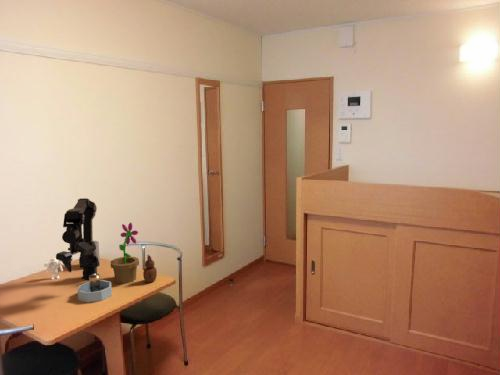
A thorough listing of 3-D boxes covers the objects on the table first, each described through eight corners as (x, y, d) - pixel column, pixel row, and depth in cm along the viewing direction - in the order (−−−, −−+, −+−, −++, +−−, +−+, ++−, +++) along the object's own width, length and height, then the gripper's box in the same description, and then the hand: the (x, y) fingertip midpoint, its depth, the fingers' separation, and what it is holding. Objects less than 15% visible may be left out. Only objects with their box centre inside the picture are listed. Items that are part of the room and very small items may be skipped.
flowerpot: (145, 277, 210) (143, 222, 205) (125, 287, 197) (123, 228, 193) (125, 273, 216) (123, 219, 212) (105, 282, 204) (101, 225, 199)
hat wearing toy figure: (64, 275, 213) (62, 254, 211) (64, 277, 209) (63, 256, 207) (45, 278, 208) (43, 256, 207) (45, 281, 205) (43, 258, 203)
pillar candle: (78, 268, 224) (76, 242, 221) (87, 262, 233) (86, 237, 231) (94, 269, 222) (92, 243, 220) (103, 263, 231) (102, 238, 229)
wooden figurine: (149, 284, 200) (148, 256, 198) (141, 282, 203) (140, 254, 201) (159, 280, 206) (158, 252, 204) (151, 278, 209) (150, 250, 207)
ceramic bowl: (96, 287, 197) (95, 278, 197) (118, 292, 191) (117, 283, 190) (71, 298, 184) (71, 289, 184) (94, 304, 178) (93, 294, 177)
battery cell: (95, 290, 191) (94, 271, 189) (102, 292, 189) (101, 273, 187) (88, 294, 187) (86, 274, 185) (95, 295, 185) (93, 276, 183)
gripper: (72, 244, 172) (74, 278, 175) (103, 233, 189) (105, 265, 192) (53, 241, 177) (56, 274, 179) (86, 231, 194) (88, 261, 196)
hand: (78, 268), depth 187 cm, fingers open, 9 cm apart
